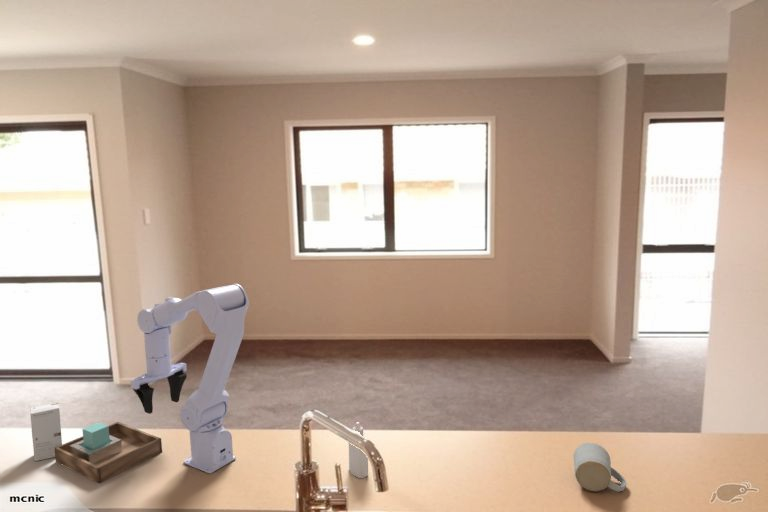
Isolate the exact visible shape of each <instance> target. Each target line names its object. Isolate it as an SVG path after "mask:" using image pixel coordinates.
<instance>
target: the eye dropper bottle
mask: <svg viewBox="0 0 768 512" xmlns="http://www.w3.org/2000/svg"><path fill="white" fill-rule="evenodd" d="M352 430H355V431H358V432H360V434H361V435H362V436H363V437H364V428H363V426H361V424H360V422H359V421H356V423H355V425H354V426H353V427H352ZM352 430H351V431H352ZM348 469H349V472H350V474H352V476H354V477H355V476H356V477H355V478H357V477H358V479H363V478H367V477H368V476H369V457H368V458H367V457H366V455H365V454H364V453H363V452H362V451H361V450H360V449H358V448H356V447H355V446H353V445H351V444H350V443H349V442H348Z"/></svg>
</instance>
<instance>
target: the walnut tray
mask: <svg viewBox="0 0 768 512" xmlns="http://www.w3.org/2000/svg"><path fill="white" fill-rule="evenodd" d="M107 426H108V427H109V435H111V436H113V437H116V438H118V439H120V440H121V444H122V452H120V453H118V454H115V455H113V456H111V457H109V458H107V459H105V460H103V461H100V462H98V463H96V464H92V463H90V462H88V461H86V460H84V459H81V458H79V457H77V456H75V455H73V454H71V453H70V445H72V444H75V443H77V442H79V441H82V440H83V435H82V436H80V437H78V438H75V439H73V440H70V441H68V442H66V443H64V444H63V443H62V445H60V446H58V447H56V448H54V449H55V463H57V462H58V464H59V463H60V465H61V464H63V465H64V466H63V465H62V466H63V467H65V466H66V468H67V467H68V468H67V469H69V468H70V470H71V469H72V472H73V471H74V472H76V473H78V474H80V475H81V476H83V477H86V478H87V479H90V480H91V481H94V482H95V483H97V484H101V483H103V482H104V481H105V482H106V481H107V480H109V479H110V478H113V477H114V476H117V475H119V474H121V473H123V472H124V471H125V472H126V471H127V470H129V469H131V468H133V467H135V466H137V465H138V464H141V463H144V462H145V461H147V460H149V459H151V458H153V457H155V456H156V455H160V454H161V453H163V446H162V445H163V443H162V442H163V441H162V438H160V437H159V436H156V435H154V434H151V433H148V432H146V431H142V430H140V429H138V428H135V427H132V426H130V425H127V424H124V423H121V422H119V421H117V422H114V423H112V424H109V425H107Z"/></svg>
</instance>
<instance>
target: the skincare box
mask: <svg viewBox="0 0 768 512" xmlns="http://www.w3.org/2000/svg"><path fill="white" fill-rule="evenodd" d="M29 408H30V424H31V437H32V448H33V449H32V450H33V460H34V461H35V462H38V461H41V460H47V459H51V458H54V457H55V449H54V448H56V447H58V446H60V445H63V440H62V439H63V438H62V425H61V414H60V413H61V412H60V404H59V402H54V403H47V404H43V405H39V406H33V407H29Z"/></svg>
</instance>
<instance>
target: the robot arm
mask: <svg viewBox="0 0 768 512" xmlns="http://www.w3.org/2000/svg"><path fill="white" fill-rule="evenodd" d="M248 297H249V296H248V295H247V292H246V290H245V289H244V287H242V285H240V284H238V283H232V284H229V285H223V286H218V287H213V288H208V289H203V290H200V291H196V292H193V293H192V294H190V295H188V296H186V297H184V298H182V299H181V298H178V297H174V296H169V297H167V298H164V301H165V302H164V301H163V302H162V303H161V302H158V303H155V304H154V306H153V307H149V308H143V309H141V310H140V311H139V312H138V313H137V325H138V327H139V329H140V331H141V332H143V337H144V352H145V362H146V366H145V367H146V372H145V373H142V374H141V375H139V376H137V377H135V378H133V379H131V380H130V388H131V389H132V390H133V391H134V394H136V396H137V397H138V398H139V400H140V402H141V405H142V407H143V410H144V413H146V414H153V411H154V407H153V397H154V391H155V388H154V387H152V386H151V387H150V385H149V384H152V383H155V382H156V381H160V380H162V379H165V378H167V381H168V385H169V392H170V400H171V402H174V403H178V402H179V401H180V396H181V392H182V388H183V385H184V383H185V381H186V379H187V373H185V372H187V369H188V366H187V363H185V362H179V363H175V364H172V353H171V342H170V339H171V338H170V336H171V335H172V326H173V325H175V324H177V323H180V322H183V321H184V320H186V318H187V317H188V314H189V313H190V312H192V311H195V312H196V313H198V314H199V316H200V317H201V319H202V320H203V323H204V324H205V325H206V328H208V330H209V331H210V333H212V334H215V339H214V341H213V345H212V346H211V347H212V348H211V351H210V353H209V357H208V359H207V363H206V365H205V369H204V371H203V375H202V377H201V381H200V383H199V385H198V388H197V389H196V390H195V391H194V392H193V393H192V394H191V395H190V396H189V397H188V398H187V400H186V402H185V404H183V405H182V406H181V407H180V410H179V411H180V413H179V418H180V422H181V424H182V425H183V427H184V428H185V429H187V430H188V431H189V441H190V454H191V455H190V457H188V458H186V459H184V460H183V464H186V465H187V466H190V467H193V468H195V469H198V470H200V471H203V472H205V473H207V474H212V473H214V472H215V471H217V470H219V469H221V468H223V467H224V466H227V464H229V463H231V462H232V461H234V460H236V459H237V457H236V456H235V455H234V454H233V453H234V451H233V437H232V436H233V435H232V434H231V432H230V430H227V429H226V428H225V427H224V425H223V422H224V421H225V419H224V418H225V416H227V414H228V412H229V400H230V395H229V393H228V391H226V390H225V388H226V385H227V382H228V380H229V377H230V374H231V372H232V371H231V370H232V368H233V365H234V362H235V361H236V357H237V355H238V352H239V348H240V346H241V343H242V340H243V337H244V334H245V320H246V314H247V311H248V308H249V306H250V301H249V298H248Z"/></svg>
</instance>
